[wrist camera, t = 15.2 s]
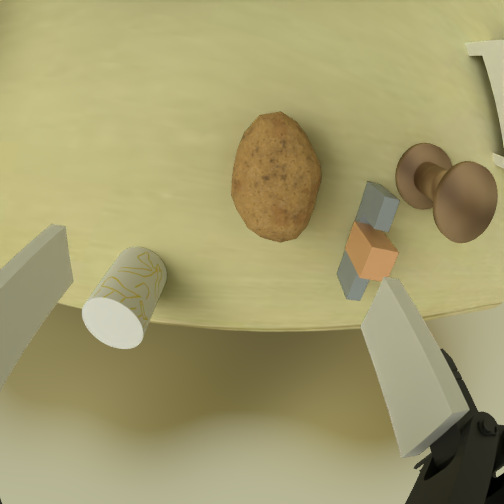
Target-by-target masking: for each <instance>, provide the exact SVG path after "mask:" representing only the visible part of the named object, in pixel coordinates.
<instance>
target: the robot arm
mask: <svg viewBox="0 0 504 504" xmlns="http://www.w3.org/2000/svg"><path fill="white" fill-rule="evenodd" d="M72 283H73V276H72V270H71V263H70V257H69V250H68V242H67V234H66V226H61V225H55V224H51V225H50V226H49V227H47V228H46V229H45V230H44V231H43V232H41V233H40V234H39V235H38V236H37V237H36V238H34V239H33V240H32V241H31V242H30V243H29V244H28V245H26V246H25V247H24V248H23V249H22V250H21V251H20V252H19V253H18V254H16V255H15V256H14V257H13V258H12V259H11V260H10V261H9V262H8V263H7V264H6V265H5V266H4V267H3V268H2V269H1V270H0V390H1V388H2V386H3V385H4V383H5V381H6V379H7V378H8V376H9V374H10V373H11V371H12V369H13V368H14V366H15V364H16V362H17V361H18V360H19V358H20V356H21V355H22V353H23V352H24V350H25V348H26V347H27V345H28V344H29V342H30V341H31V339H32V338H33V336H34V335H35V333H36V332H37V330H38V329H39V328H40V326H41V325H42V323H43V322H44V320H45V319H46V318H47V316H48V315H49V313H50V312H51V310H52V309H53V308H54V306H55V305H56V304H57V302H58V301H59V300H60V298H61V297H62V296H63V294H64V293H65V292H66V290H67V289H68V288H69V287H70V285H71V284H72ZM360 327H361V330H362V333H363V336H364V338H365V341H366V344H367V347H368V350H369V353H370V356H371V359H372V361H373V364H374V367H375V370H376V373H377V376H378V379H379V383H380V386H381V389H382V392H383V395H384V398H385V401H386V405H387V408H388V411H389V415H390V418H391V422H392V425H393V428H394V432H395V436H396V439H397V443H398V446H399V450H400V454H401V458H405V457H410V456H415V455H419V454H421V453H422V452H423V451H424V450H426V449H427V448H428V447H429V446H430V449H431V452H432V453H430V454H429V455H428V456H426V458H424V459H423V460H421V461H420V462H419V463H417V464H416V465H415V467H414V469H417V468H418V467H420V466H421V465H422V464H424V465H423V467H422V469H421V470H420V474H419V476H418V478H417V481H416V483H415V485H414V487H413V489H412V491H411V493H410V495H409V497H408V499H407V501H406V503H405V504H504V473H503V474H502V475H500V476H499V477H496V471H497V470H499V469H500V468H502V467H503V466H504V425H497V423H496V421H495V419H494V418H493V417H492V416H491V415H490V414H488V413H485V412H478V410H477V408H476V406H475V404H474V402H473V400H472V397H471V395H470V393H469V391H468V389H467V387H466V385H465V383H464V381H463V380H462V377H461V375H460V373H459V372H457V368H456V366H455V363H454V362H453V360H452V358H451V357H450V356H449V355H448V354H447V353H446V352H445V351H444V350H443V349H440V348H439V346H438V344H437V343H436V341H435V339H434V337H433V335H432V334H431V332H430V330H429V328H428V326H427V325H426V323H425V321H424V319H423V318H422V316H421V314H420V313H419V311H418V309H417V308H416V306H415V304H414V303H413V301H412V299H411V298H410V296H409V294H408V293H407V291H406V290H405V288H404V286H403V285H402V283H401V282H400V280H399V279H395V278H388V277H384V278H383V280H382V282H381V285H380V287H379V289H378V291H377V293H376V295H375V298H374V300H373V302H372V304H371V306H370V308H369V310H368V312H367V314H366V316H365V318H364V320H363V322H362V324H361V326H360ZM0 504H2V502H1V499H0Z"/></svg>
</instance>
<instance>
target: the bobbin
mask: <svg viewBox="0 0 504 504" xmlns="http://www.w3.org/2000/svg"><path fill="white" fill-rule="evenodd" d="M396 185H397V189H398V192H399V193H400V195H401V197H402V198H403V199H404V200H405V201H406V202H407V203H408V204H410V205H411V206H413V207H415V208H418V209H429V208H432V207H433V216H434V220H435V223H436V225H437V227H438V229H439V230H440V231H441V233H442V234H444V235H445V236H446V237H447V238H448V239H449V240H451V241H453V242H456V243H465V242H469V241H472V240H474V239H475V238H477V237H478V236H479V235H481V234H482V233H483V232H484V231H485V229H486V228H487V227H488V225H489V224H490V222H491V220H492V218H493V216H494V213H495V210H496V206H497V197H498V194H497V186H496V182H495V180H494V177H493V176H492V174H491V173H490V171H489V170H488V169H487V168H485V167H484V166H482V165H480V164H478V163H475V162H471V161H465V162H461V163H458V164H456V165H454V166H453V167H452V164H451V161H450V159H449V157H448V155H447V154H446V153H445V152H444V151H443V150H442V149H441V148H439V147H437V146H435V145H432V144H428V143H420V144H416V145H414V146H412V147H410V148H409V149H408V150H407V151H406V152H405V153H404V154H403V155H402V157H401V158H400V160H399V162H398V165H397V169H396Z"/></svg>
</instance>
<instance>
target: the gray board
mask: <svg viewBox="0 0 504 504" xmlns="http://www.w3.org/2000/svg"><path fill="white" fill-rule="evenodd" d="M399 201H400V200H399V199H397V198H396V197H395V196H394V195H393V194H391V193H390V192H389V191H388V190H387V189H385V188H384V187H383V186H382V185H379V184H376V183H372V182H369V181H367V185H366V188H365V191H364V195H363V198H362V201H361V204H360V207H359V211H358V214H357V217H356V220H355V221H356V222H360V223H365V224H369V225H371V226H372V227H373V228H374V229H377V230H381V231H386V232H389V230H390V227H391V224H392V221H393V219H394V216H395V213H396V210H397V207H398V204H399ZM337 276H338V279H339V281H340V284H341V286H342V289H343V292H344V294H345V297H346V299H349V300H356V301H360V300H361V298H362V296H363V293H364V291H365V289H366V287H367V284H368V282H369V279H363V278H359V276H358V274H357V272H356V270H355V268H354V266H353V264H352V262H351V260H350V258H349V256H348V254H347V252H346V250H345V252H344V255H343V258H342V261H341V263H340V266H339V269H338V271H337Z"/></svg>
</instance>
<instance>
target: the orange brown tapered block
mask: <svg viewBox="0 0 504 504" xmlns="http://www.w3.org/2000/svg"><path fill="white" fill-rule="evenodd" d="M345 250H346V252H347V254H348V256H349V258H350V260H351V262H352V264H353V266H354V268H355V270H356V272H357V274H358V276H359V278H363V279H369V280H376V281H382V280H383V278H384V277H389V275H390V272H391V270H392V268H393V266H394V263H395V261H396V259H397V256H398V254H399V252H398V251H397V249H396V248H395V247H394V245H393V244H392V243H391V242H390V240H389V239H388V238H387V237H386V235H385V234H384V233H383V232H382V231H381V230H377V229H374V228H373V227H372V226H371V225H369V224H365V223H360V222H356V221H354V224H353V227H352V230H351V232H350V235H349V238H348V241H347V244H346V247H345Z"/></svg>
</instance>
